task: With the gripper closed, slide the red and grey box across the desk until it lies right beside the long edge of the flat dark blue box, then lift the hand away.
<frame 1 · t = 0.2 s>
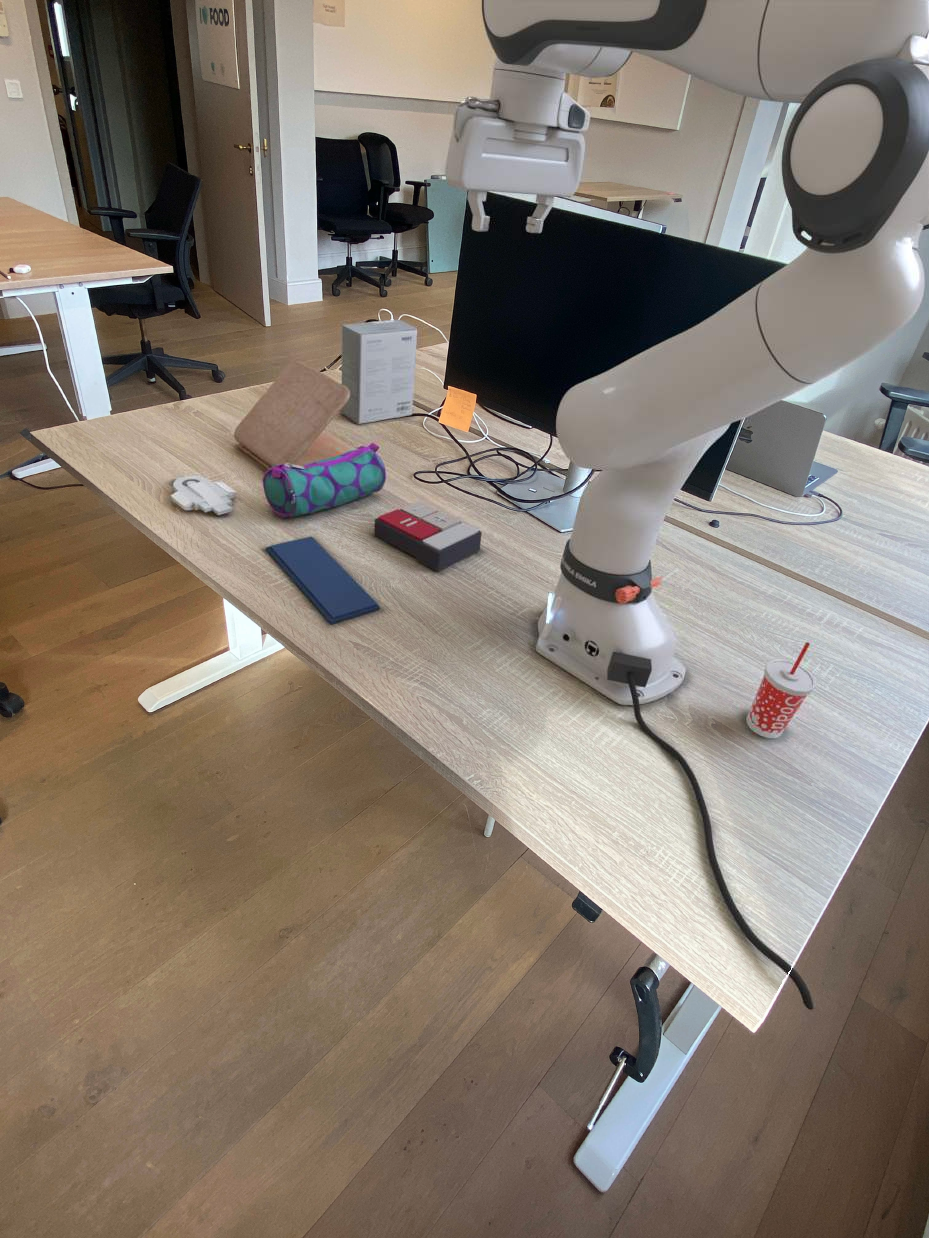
hand: (507, 231, 94), 48 cm above the table, tool pointing down, fingers open, 8 cm apart
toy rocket: (200, 499, 121), on the table
red and grey box: (426, 544, 119), on the table
case: (303, 457, 140), on the table
beverage cup: (763, 726, 92), on the table
flat dark blue box: (320, 578, 106), on the table
hard drive box: (376, 415, 163), on the table
pencil case: (327, 505, 126), on the table
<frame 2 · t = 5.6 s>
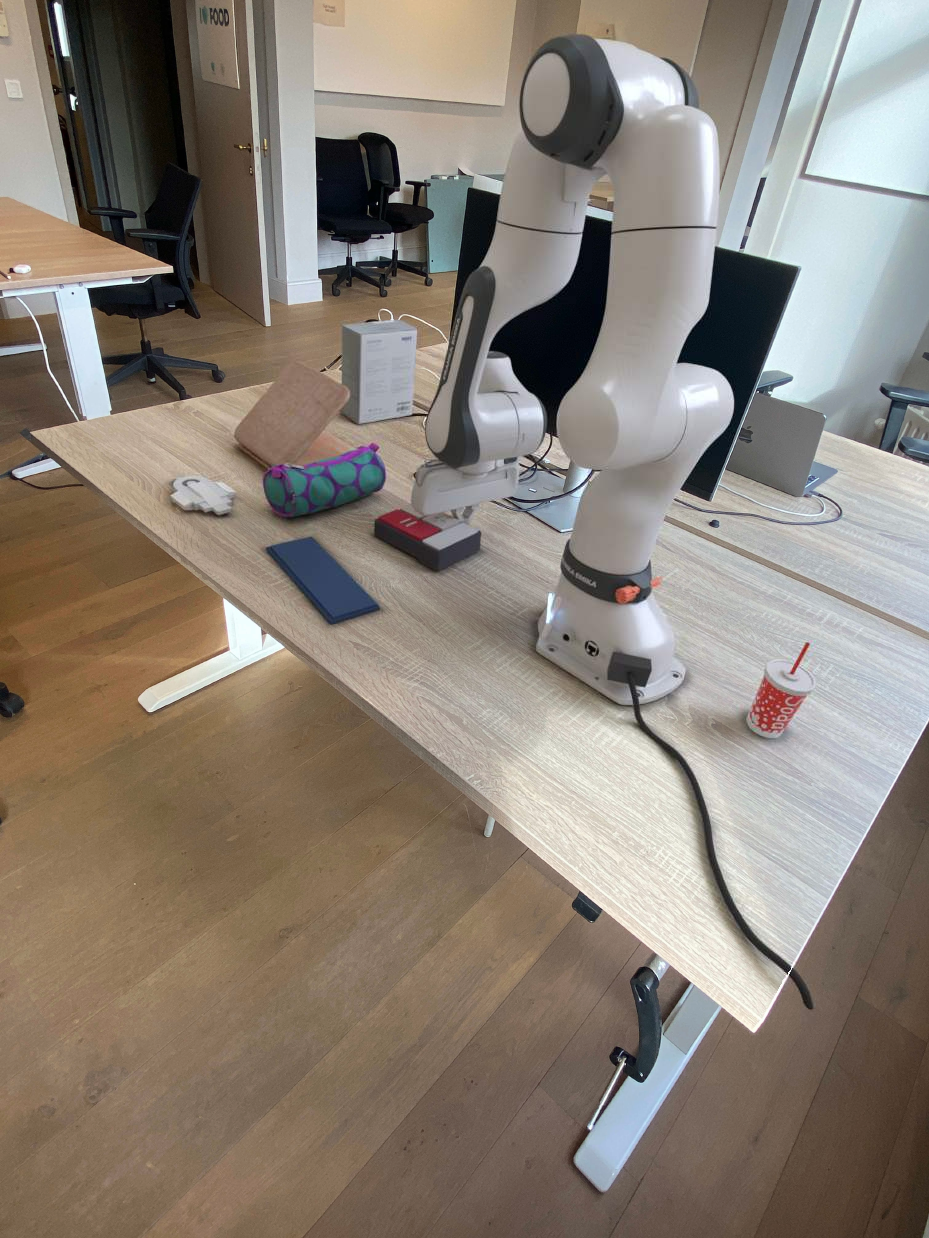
hand: (461, 526, 122), 2 cm above the table, tool pointing down, fingers closed
red and grey box: (426, 544, 119), on the table, touching gripper
everything else where it was.
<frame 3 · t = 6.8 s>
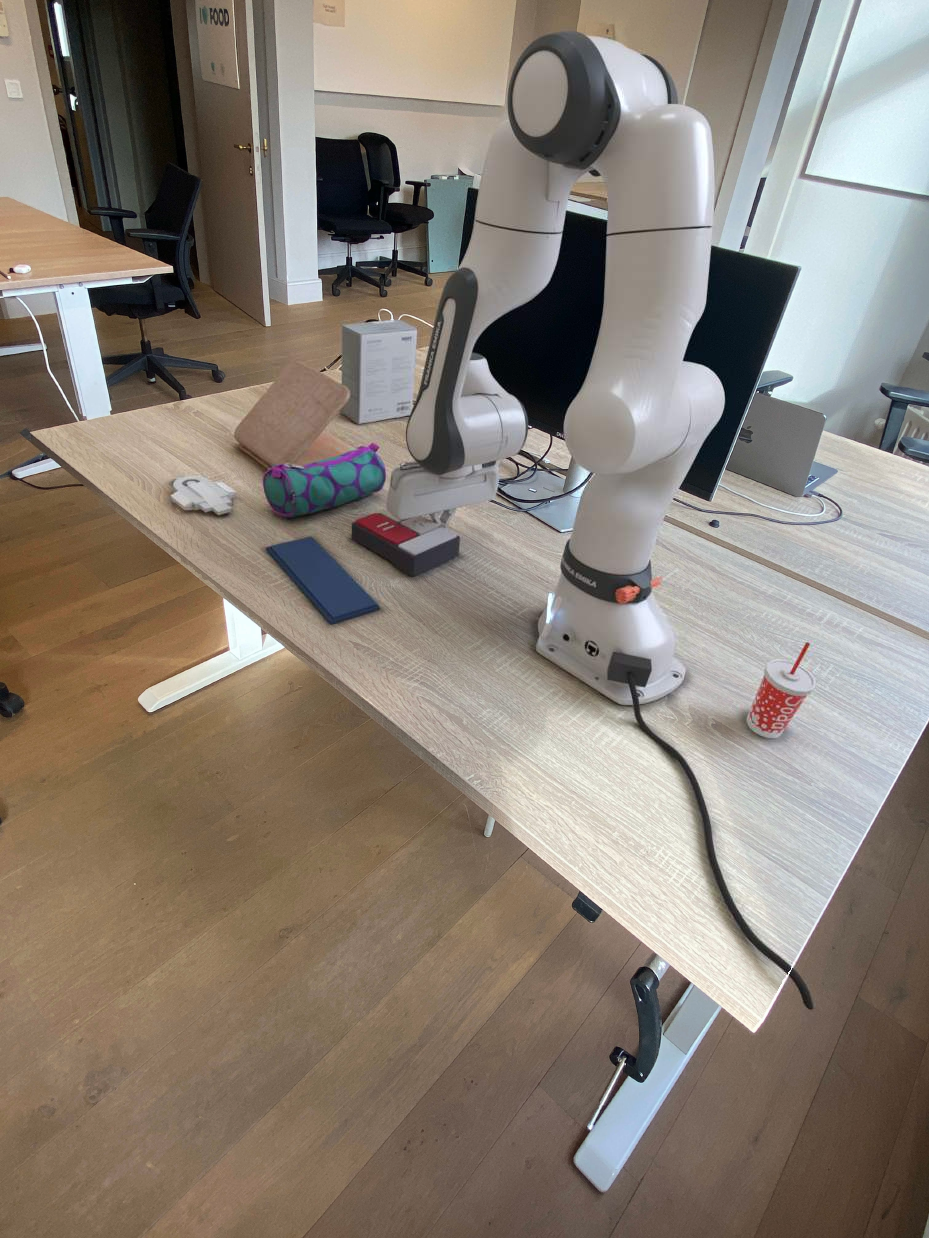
hand: (439, 530, 119), 2 cm above the table, tool pointing down, fingers closed
red and grey box: (404, 548, 117), on the table, touching gripper
everything else where it was.
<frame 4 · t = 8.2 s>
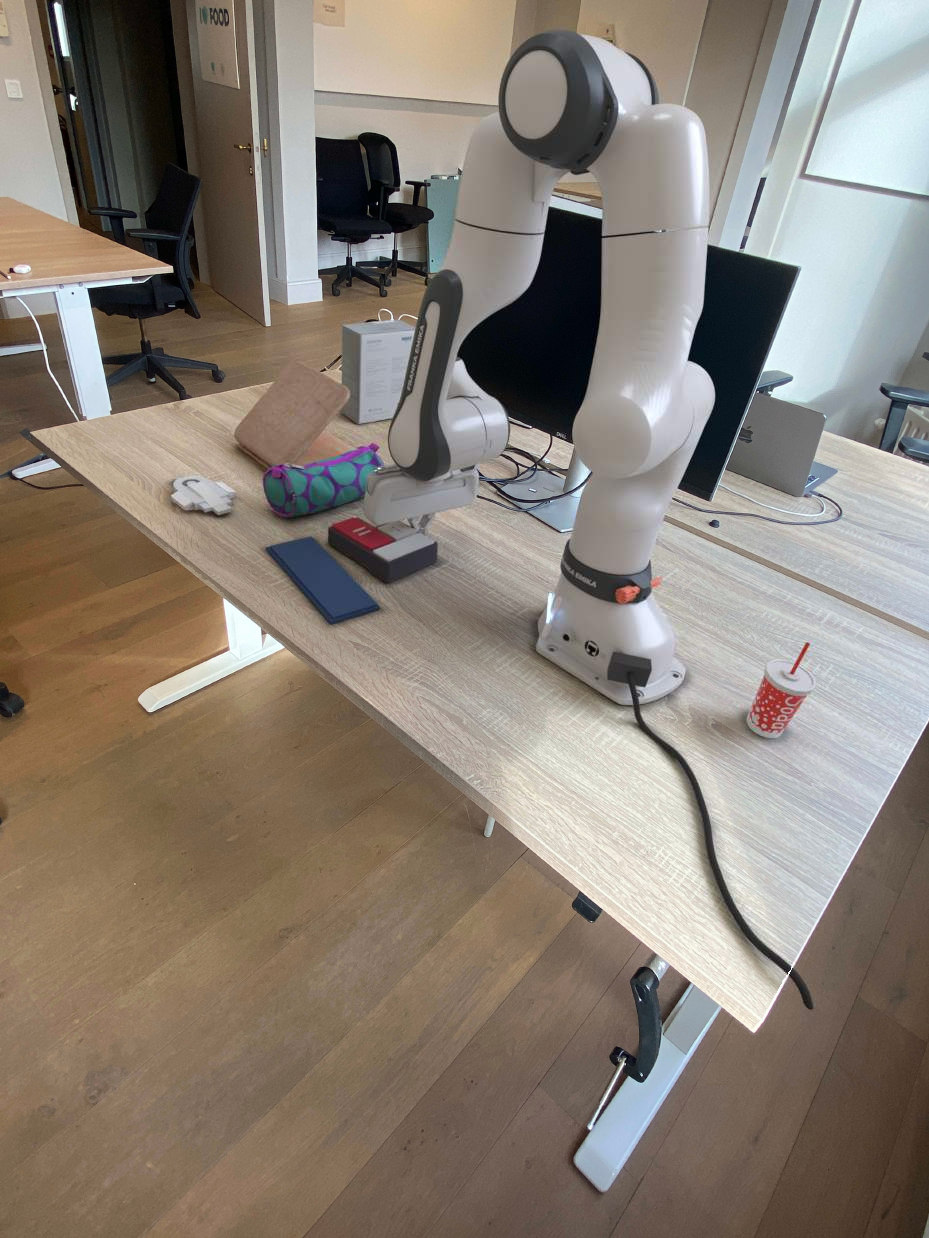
hand: (418, 535, 117), 2 cm above the table, tool pointing down, fingers closed
red and grey box: (381, 554, 114), on the table, touching gripper
everything else where it was.
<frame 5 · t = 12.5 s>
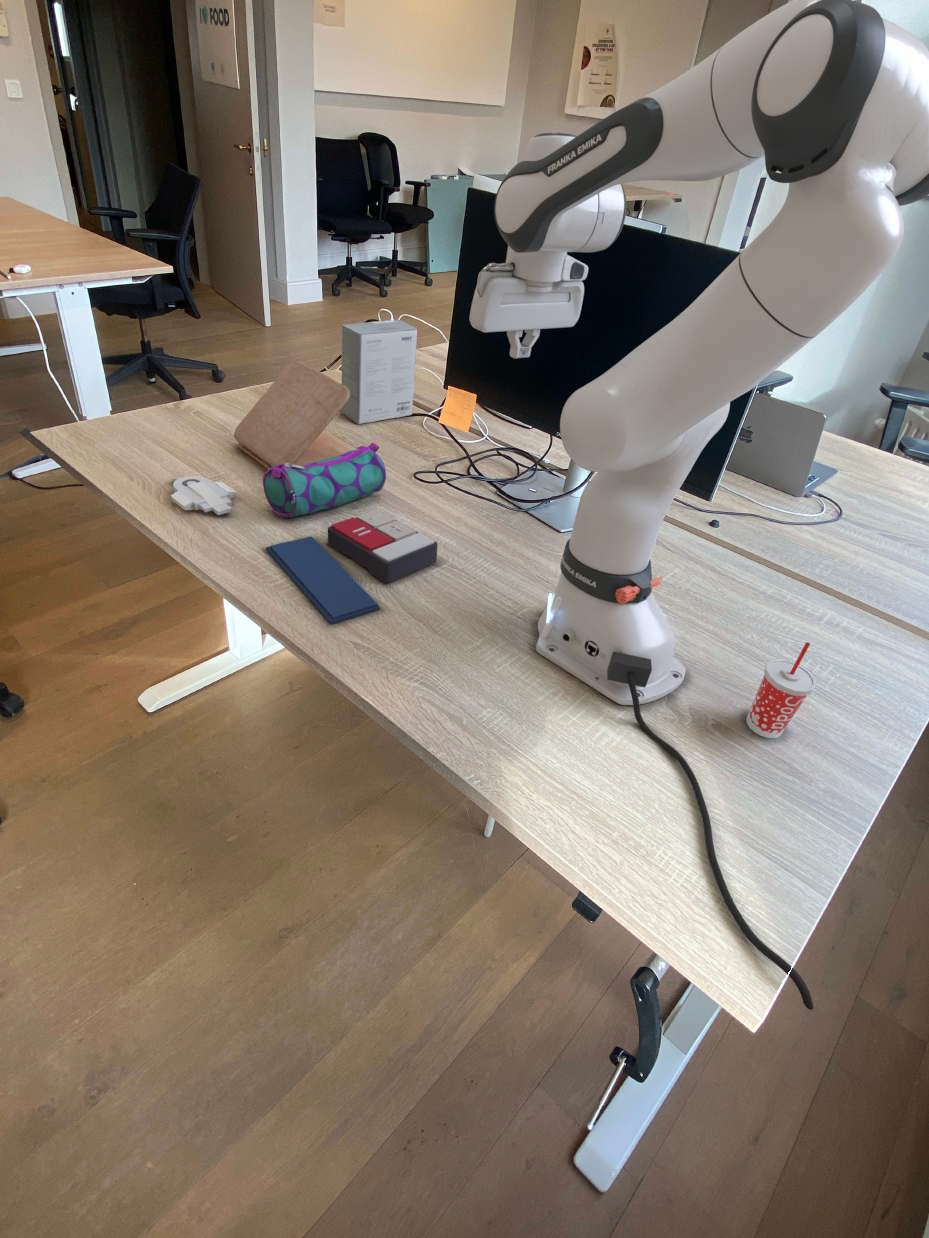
hand: (519, 357, 112), 29 cm above the table, tool pointing down, fingers closed
red and grey box: (381, 554, 114), on the table
everything else where it was.
at the end: red and grey box inside the target area (0.7 cm from its centre), on the table; red and grey box 12.5 cm from the flat dark blue box (horizontally); red and grey box moved 8.7 cm from its start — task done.
